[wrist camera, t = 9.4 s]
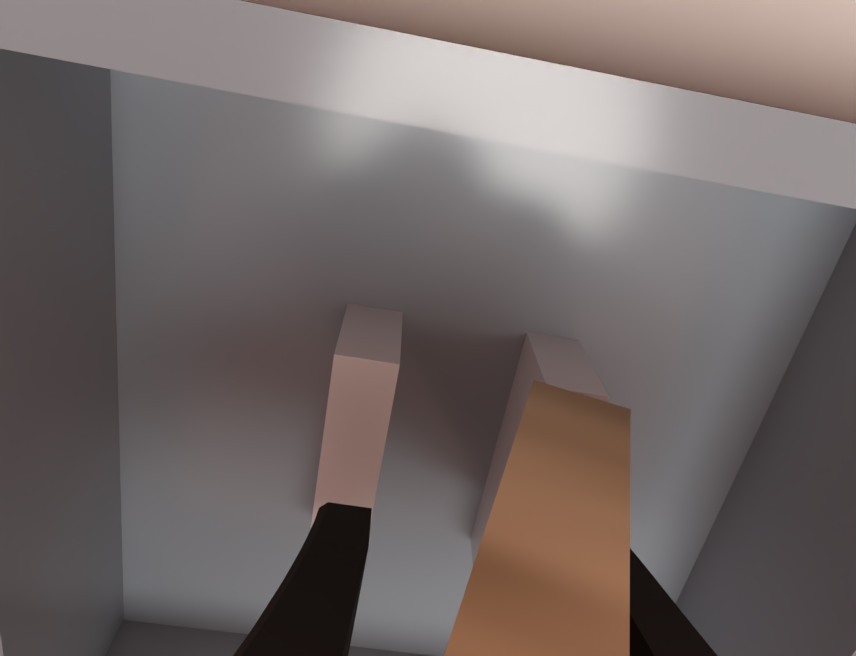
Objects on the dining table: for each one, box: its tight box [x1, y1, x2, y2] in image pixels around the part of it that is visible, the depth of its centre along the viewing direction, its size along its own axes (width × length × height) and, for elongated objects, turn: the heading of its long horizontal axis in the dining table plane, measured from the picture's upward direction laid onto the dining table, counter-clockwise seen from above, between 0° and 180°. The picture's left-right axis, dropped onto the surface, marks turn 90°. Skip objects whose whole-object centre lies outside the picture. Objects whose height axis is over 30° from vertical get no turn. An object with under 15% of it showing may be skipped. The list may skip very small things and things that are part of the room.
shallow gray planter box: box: [0, 0, 856, 656], centre depth 11 cm, size 14×14×4 cm
